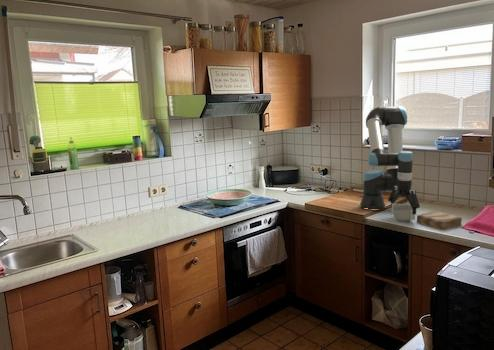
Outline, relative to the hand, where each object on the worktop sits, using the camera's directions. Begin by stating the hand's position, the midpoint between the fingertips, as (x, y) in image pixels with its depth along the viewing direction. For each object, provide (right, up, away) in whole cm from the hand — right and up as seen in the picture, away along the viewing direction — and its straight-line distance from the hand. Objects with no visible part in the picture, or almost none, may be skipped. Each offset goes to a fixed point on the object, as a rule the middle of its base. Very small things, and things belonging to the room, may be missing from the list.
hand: (402, 216), depth 232 cm
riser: (+16, -3, -8) cm, 18 cm away
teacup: (0, -2, +1) cm, 2 cm away
